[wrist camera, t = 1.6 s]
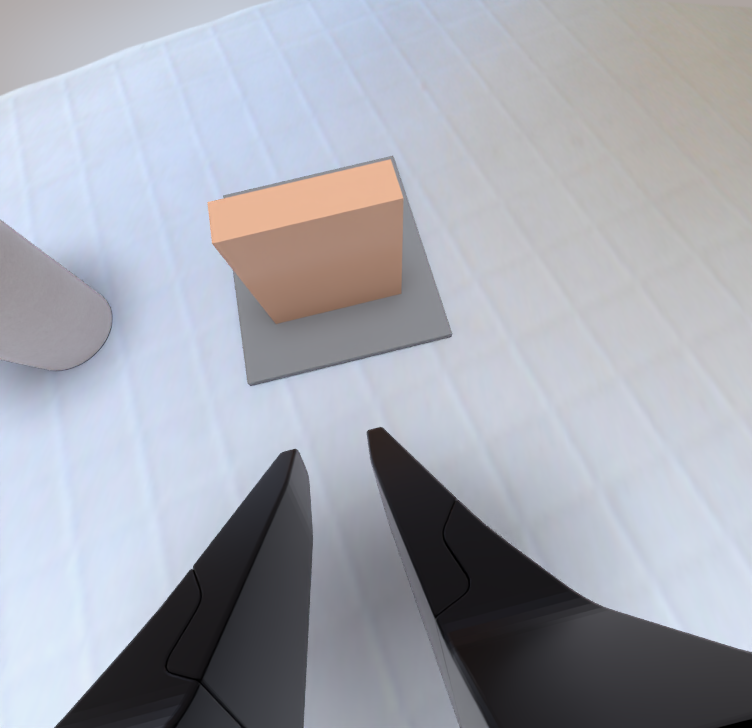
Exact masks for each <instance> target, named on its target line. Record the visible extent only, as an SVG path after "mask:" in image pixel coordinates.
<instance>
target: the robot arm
mask: <svg viewBox="0 0 752 728" xmlns="http://www.w3.org/2000/svg"><path fill="white" fill-rule="evenodd" d="M367 439H368V446H369V454H370V460H371V464H372V467H373V471H374V474H375V478H376V481H377V485H378V488H379V491H380V495H381V498H382V502H383V505H384V509H385V512H386V515H387V519H388V522H389V525H390V528H391V531H392V534H393V537H394V540H395V542H396V545H397V548H398V551H399V554H400V557H401V560H402V563H403V565H404V568H405V571H406V574H407V577H408V580H409V583H410V585H411V588H412V591H413V594H414V597H415V600H416V603H417V606H418V608H419V611H420V614H421V617H422V620H423V623H424V626H425V629H426V631H427V634H428V637H429V640H430V643H431V646H432V649H433V652H434V654H435V657H436V660H437V663H438V666H439V669H440V672H441V674H442V677H443V680H444V683H445V686H446V689H447V692H448V695H449V697H450V700H451V703H452V706H453V709H454V712H455V715H456V718H457V720H458V723H459V726H460V728H752V652H749V651H745V650H741V649H737V648H734V647H731V646H727V645H724V644H721V643H718V642H715V641H711V640H708V639H705V638H702V637H698V636H695V635H692V634H689V633H686V632H682V631H679V630H676V629H673V628H669V627H666V626H663V625H660V624H656V623H653V622H650V621H647V620H644V619H640V618H637V617H634V616H631V615H627V614H624V613H621V612H618V611H614V610H611V609H609V608H606V607H603V606H601V605H599V604H597V603H594V602H593V601H591V600H589V599H587V598H585V597H583V596H582V595H580V594H578V593H577V592H575V591H574V590H572V589H571V588H569V587H568V586H566V585H565V584H564V583H562V582H561V581H560V580H558V579H557V578H556V577H554V576H553V575H551V574H550V573H549V572H547V571H546V570H545V569H543V568H542V567H541V566H539V565H538V564H537V563H535V562H534V561H533V560H531V559H530V558H529V557H527V556H526V555H524V554H523V553H522V552H520V551H519V550H518V549H516V548H515V547H514V546H512V545H511V544H510V543H508V542H507V541H506V540H504V539H503V538H502V537H501V536H499V535H498V534H497V533H495V532H494V531H493V530H492V529H490V528H489V527H488V526H487V525H485V524H484V523H483V522H482V521H481V520H480V519H479V518H478V517H476V516H475V515H474V514H473V513H472V512H471V511H470V510H469V509H468V508H467V507H466V506H464V505H463V504H462V503H461V502H460V501H459V500H457V498H456V497H455V496H454V495H453V494H452V493H451V492H450V491H449V490H447V489H446V488H445V487H444V486H443V485H442V484H441V483H440V482H439V481H438V480H437V479H436V478H435V477H434V476H433V475H432V474H431V473H430V472H429V471H428V470H427V469H426V468H424V467H423V466H422V465H421V464H420V463H419V462H418V461H417V460H416V459H415V458H414V457H413V456H412V455H411V454H410V453H409V452H408V451H407V450H406V449H405V448H404V447H402V446H401V445H400V444H399V443H398V442H397V441H396V440H395V439H394V438H393V437H392V436H391V435H390V434H389V433H388V432H387V431H386V430H385V429H384V428H382V427H379V428H375V429H371V430H368V431H367ZM312 549H313V530H312V514H311V499H310V484H309V476H308V472H307V470H306V467H305V465H304V462H303V460H302V458H301V455H300V453H299V451H298V450H297V449H293V450H289V451H285V452H282V453H280V455H279V456H278V457H277V458H276V460H275V461H274V462H273V464H272V465H271V466H270V467H269V469H268V470H267V471H266V473H265V474H264V475H263V476H262V478H261V479H260V480H259V482H258V483H257V484H256V485H255V487H254V488H253V489H252V491H251V492H250V493H249V494H248V496H247V497H246V498H245V500H244V501H243V502H242V504H241V505H240V506H239V507H238V509H237V510H236V511H235V513H234V514H233V515H232V516H231V518H230V519H229V520H228V522H227V523H226V524H225V525H224V527H223V528H222V529H221V531H220V532H219V533H218V535H217V536H216V537H215V538H214V540H213V541H212V542H211V544H210V545H209V546H208V547H207V549H206V550H205V551H204V553H203V554H202V555H201V556H200V558H199V559H198V560H197V562H196V563H195V564H194V566H193V569H194V570H193V569H191V570H189V572H188V573H187V574H186V576H185V577H184V578H183V579H182V581H181V582H180V583H179V585H178V586H177V587H176V588H175V590H174V591H173V592H172V593H171V595H170V596H169V597H168V598H167V600H166V601H165V602H164V603H163V605H162V606H161V607H160V608H159V610H158V611H157V612H156V613H155V614H154V615H153V617H152V618H151V619H150V620H149V621H148V622H147V624H146V625H145V626H144V627H143V628H142V629H141V631H140V632H139V633H138V634H137V635H136V636H135V638H134V639H133V640H132V641H131V642H130V643H129V644H128V646H127V647H126V648H125V649H124V650H123V651H122V652H121V653H120V655H119V656H118V657H117V658H116V659H115V660H114V661H113V662H112V664H111V665H110V666H109V667H108V668H107V669H106V670H105V672H104V673H103V674H102V675H101V676H100V677H99V678H98V679H97V681H96V682H95V683H94V684H93V685H92V686H91V687H90V688H89V690H88V691H87V692H86V693H85V694H84V695H83V696H82V698H81V699H80V700H79V701H78V702H77V703H76V704H75V705H74V707H73V708H72V709H71V710H70V711H69V712H68V713H67V714H66V716H65V717H64V718H63V719H62V720H61V721H60V722H59V723H58V724H57V725H56V726H55V727H54V728H303V727H304V707H305V687H306V667H307V648H308V628H309V608H310V588H311V568H312Z"/></svg>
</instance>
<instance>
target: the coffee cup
mask: <svg viewBox="0 0 752 728" xmlns="http://www.w3.org/2000/svg"><path fill="white" fill-rule="evenodd" d="M111 324H112V313H111V309H110V306H109V304H108V302H107V301H106V300H105V298H104V297H103V296H101V295H100V294H99V293H97V292H96V291H95V290H93V289H92V288H91V287H89V286H88V285H87V284H85V283H84V282H83V281H82V280H80V279H79V278H78V277H76V276H75V275H74V274H72V273H71V272H70V271H68V270H67V269H66V268H64V267H63V266H62V265H60V264H59V263H58V262H56V261H55V260H54V259H52V258H51V257H50V256H48V255H47V254H46V253H44V252H43V251H42V250H40V249H39V248H38V247H36V246H35V245H34V244H32V243H31V242H30V241H28V240H27V239H26V238H24V237H23V236H22V235H20V234H19V233H18V232H16V231H15V230H14V229H12V228H11V227H10V226H8V225H7V224H6V223H4V222H3V221H2V220H0V360H4V361H9V362H14V363H18V364H23V365H28V366H32V367H37V368H41V369H46V370H53V371H59V370H66V369H70V368H73V367H75V366H78V365H80V364H82V363H83V362H85V361H87V360H88V359H89V358H91V357H92V356H93V355H94V354H95V353H96V352H97V351H98V350H99V349H100V348H101V346H102V345H103V344H104V342H105V340H106V339H107V337H108V334H109V332H110V329H111Z"/></svg>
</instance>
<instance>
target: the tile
mask: <svg viewBox="0 0 752 728" xmlns="http://www.w3.org/2000/svg"><path fill="white" fill-rule="evenodd" d="M208 211H209V220H210V229H211V238H212V244H213V245H214V246H215V248H216V249H217V250H218V252H219V253H220V254H221V255H222V257H223V258H224V259H225V260H226V262H227V263H228V264H229V265H230V267H231V268H232V269H233V270H234V272H235V273H236V274H237V276H238V277H239V278H240V279H241V281H242V282H243V283H244V284H245V286H246V287H247V288H248V289H249V291H250V292H251V293H252V294H253V296H254V297H255V298H256V300H257V301H258V302H259V303H260V305H261V306H262V307H263V308H264V310H265V311H266V312H267V313H268V315H269V316H270V317H271V318H272V320H273V321H274V322H275V324H278V323H282V322H287V321H291V320H295V319H299V318H303V317H307V316H311V315H315V314H320V313H324V312H328V311H332V310H336V309H340V308H344V307H349V306H353V305H357V304H361V303H365V302H369V301H373V300H377V299H382V298H386V297H390V296H394V295H398V294H401V288H402V243H403V195H402V192H401V189H400V186H399V183H398V180H397V177H396V174H395V171H394V168H393V165H392V162H391V159H390V160H385V161H381V162H377V163H373V164H368V165H364V166H360V167H355V168H351V169H347V170H343V171H338V172H334V173H330V174H326V175H321V176H317V177H313V178H309V179H304V180H300V181H296V182H292V183H287V184H283V185H279V186H275V187H270V188H266V189H262V190H258V191H253V192H249V193H245V194H241V195H236V196H232V197H228V198H224V199H219V200H215V201H211V202H208Z"/></svg>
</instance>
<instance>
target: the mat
mask: <svg viewBox="0 0 752 728" xmlns="http://www.w3.org/2000/svg"><path fill="white" fill-rule="evenodd" d="M390 159H391V162H392V165H393V168H394V171H395V174H396V177H397V180H398V183H399V186H400V189H401V192H402V195H403V243H402V288H401V294H398V295H394V296H390V297H386V298H382V299H377V300H373V301H369V302H365V303H361V304H357V305H353V306H349V307H344V308H340V309H336V310H332V311H328V312H324V313H320V314H315V315H311V316H307V317H303V318H299V319H295V320H291V321H287V322H282V323H278V324H275V322H274V321H273V320H272V318H271V317H270V316H269V315H268V313H267V312H266V311H265V310H264V308H263V307H262V306H261V305H260V303H259V302H258V301H257V300H256V298H255V297H254V296H253V294H252V293H251V292H250V291H249V289H248V288H247V287H246V286H245V284H244V283H243V282H242V281H241V279H240V278H239V277H238V276H237V274H236V273H235V272H234V270H233V274H234V282H235V290H236V298H237V305H238V313H239V321H240V328H241V336H242V344H243V352H244V359H245V367H246V375H247V382H248V384H249V385H250V386H251V385H255V384H259V383H263V382H268V381H272V380H276V379H280V378H284V377H288V376H292V375H296V374H300V373H304V372H308V371H313V370H317V369H321V368H325V367H329V366H333V365H337V364H341V363H345V362H349V361H353V360H357V359H362V358H366V357H370V356H374V355H378V354H382V353H386V352H390V351H394V350H398V349H402V348H407V347H411V346H415V345H419V344H423V343H427V342H431V341H435V340H439V339H443V338H447V337H451V336H452V332H451V329H450V325H449V322H448V319H447V316H446V313H445V310H444V307H443V304H442V301H441V298H440V295H439V292H438V289H437V286H436V283H435V280H434V277H433V274H432V271H431V268H430V265H429V262H428V259H427V256H426V253H425V250H424V247H423V244H422V241H421V238H420V235H419V232H418V229H417V226H416V223H415V220H414V217H413V214H412V211H411V208H410V205H409V202H408V199H407V196H406V193H405V190H404V187H403V184H402V181H401V178H400V175H399V172H398V169H397V166H396V163H395V160H394V157H393V156H390V157H386V158H381V159H377V160H373V161H369V162H364V163H360V164H356V165H352V166H347V167H343V168H339V169H335V170H330V171H326V172H322V173H317V174H313V175H309V176H305V177H300V178H296V179H292V180H288V181H283V182H279V183H275V184H271V185H266V186H262V187H258V188H254V189H249V190H245V191H241V192H237V193H232V194H228V195H224V196H223V197H224V198H228V197H232V196H236V195H241V194H245V193H249V192H253V191H258V190H262V189H266V188H270V187H275V186H279V185H283V184H287V183H292V182H296V181H300V180H304V179H309V178H313V177H317V176H321V175H326V174H330V173H334V172H338V171H343V170H347V169H351V168H355V167H360V166H364V165H368V164H373V163H377V162H381V161H385V160H390Z"/></svg>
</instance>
